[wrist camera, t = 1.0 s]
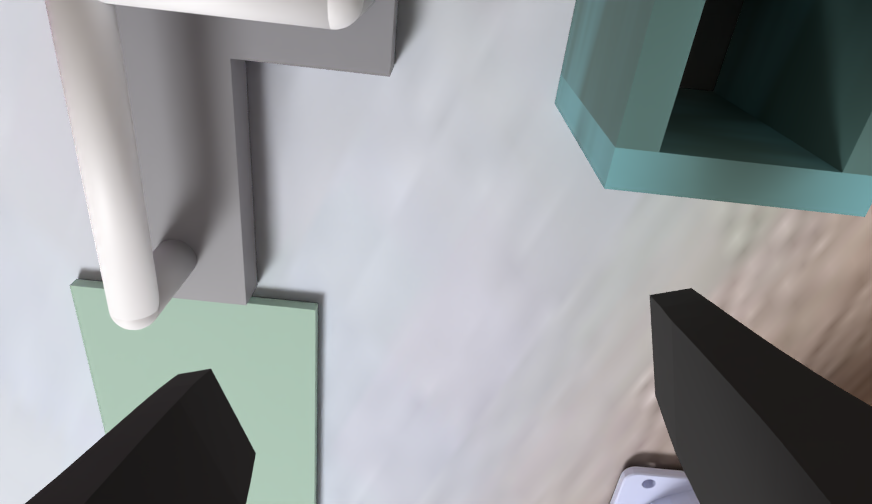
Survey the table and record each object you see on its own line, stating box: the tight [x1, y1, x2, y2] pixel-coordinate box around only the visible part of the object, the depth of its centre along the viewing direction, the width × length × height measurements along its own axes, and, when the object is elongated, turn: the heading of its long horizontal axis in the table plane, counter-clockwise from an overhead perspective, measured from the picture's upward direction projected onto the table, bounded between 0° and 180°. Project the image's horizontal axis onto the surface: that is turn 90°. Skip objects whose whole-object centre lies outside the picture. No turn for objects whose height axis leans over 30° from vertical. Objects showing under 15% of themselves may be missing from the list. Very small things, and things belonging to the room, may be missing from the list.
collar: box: [555, 0, 872, 217], centre depth 12 cm, size 5×5×6 cm
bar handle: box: [45, 0, 398, 330], centre depth 15 cm, size 8×12×4 cm
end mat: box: [70, 279, 318, 504], centre depth 23 cm, size 8×14×1 cm, turn 174°
